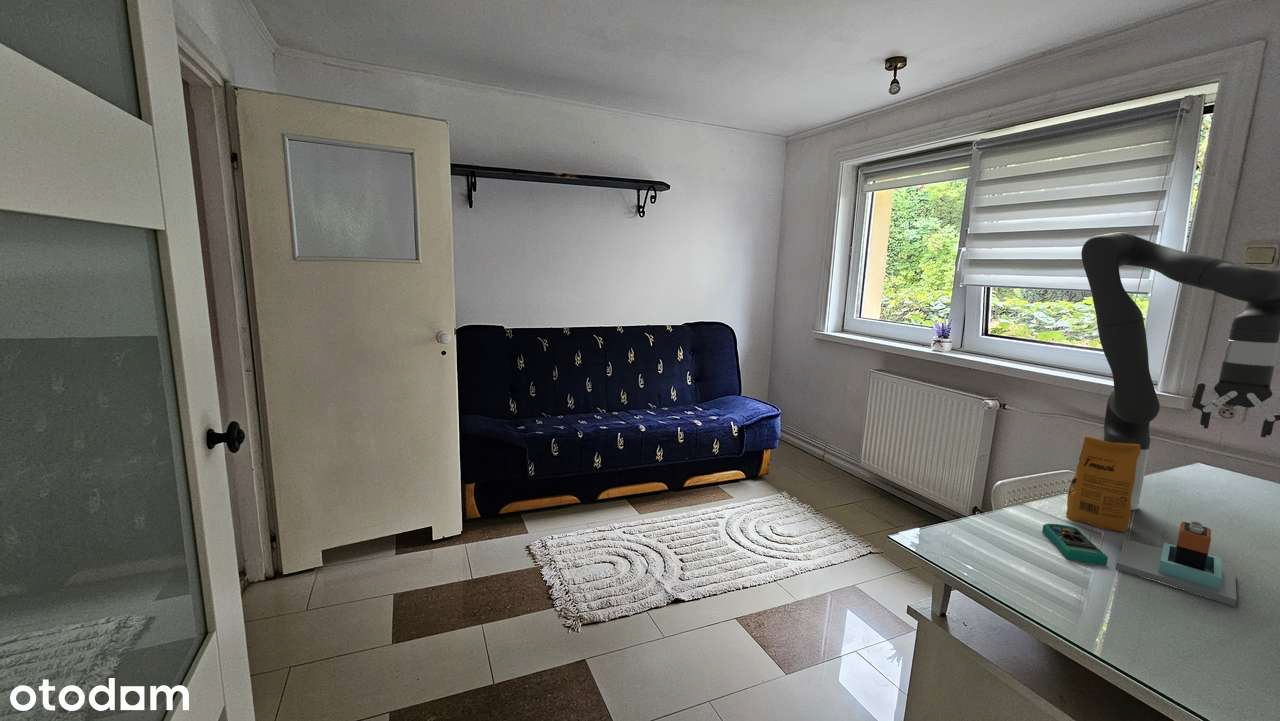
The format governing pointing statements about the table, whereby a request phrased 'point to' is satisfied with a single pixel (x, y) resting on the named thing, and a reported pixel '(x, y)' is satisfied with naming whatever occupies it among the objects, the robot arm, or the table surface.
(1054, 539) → the digital multimeter
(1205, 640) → the table surface
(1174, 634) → the table surface
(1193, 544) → the battery
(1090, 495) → the coffee package
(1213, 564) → the plate
